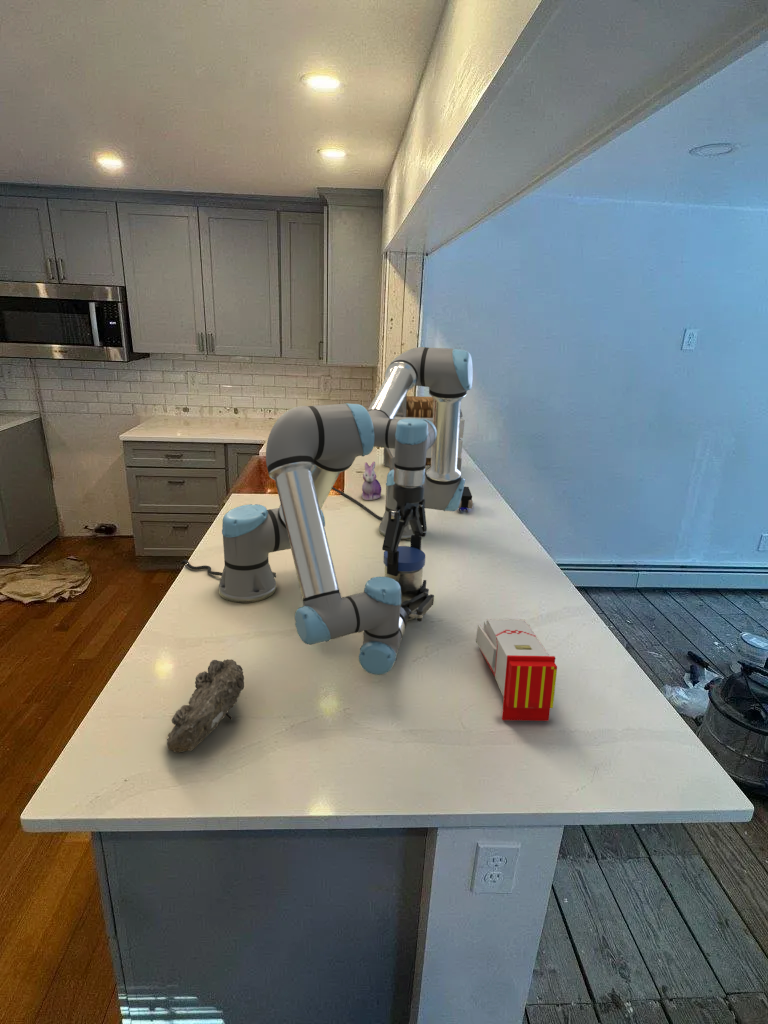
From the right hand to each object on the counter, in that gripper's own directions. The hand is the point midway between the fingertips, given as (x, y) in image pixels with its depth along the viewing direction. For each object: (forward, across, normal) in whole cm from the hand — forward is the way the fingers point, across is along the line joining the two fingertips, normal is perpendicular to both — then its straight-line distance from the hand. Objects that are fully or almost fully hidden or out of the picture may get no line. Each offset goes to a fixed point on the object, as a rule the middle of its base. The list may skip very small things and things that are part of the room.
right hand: (403, 566), depth 145 cm
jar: (+13, 0, 0) cm, 13 cm away
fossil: (+13, +56, -8) cm, 58 cm away
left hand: (+6, -4, -2) cm, 8 cm away
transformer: (+13, -119, -62) cm, 135 cm away
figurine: (+13, -73, -59) cm, 95 cm away
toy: (+13, +11, +34) cm, 38 cm away
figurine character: (+13, -85, -23) cm, 89 cm away
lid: (-3, 0, 0) cm, 3 cm away
